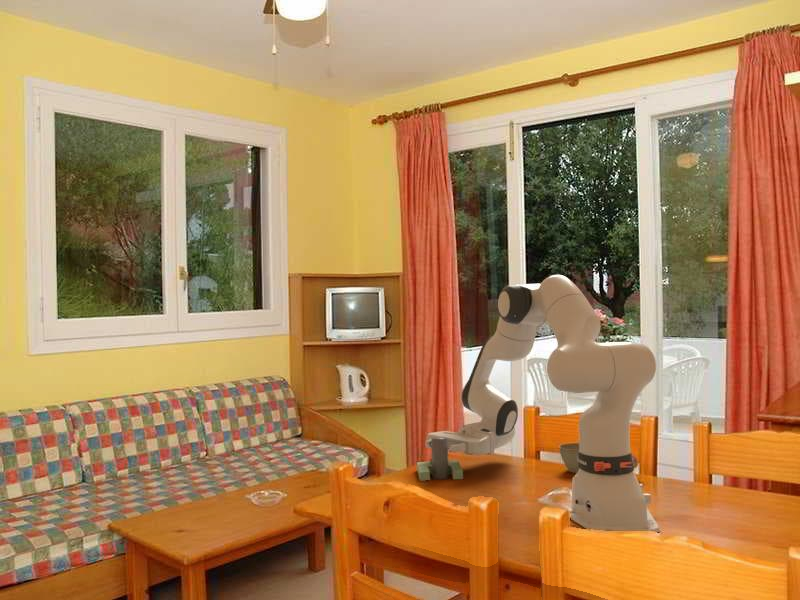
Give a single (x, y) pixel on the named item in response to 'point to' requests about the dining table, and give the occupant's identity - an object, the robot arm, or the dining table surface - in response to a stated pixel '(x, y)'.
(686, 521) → the dining table surface
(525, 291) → the robot arm
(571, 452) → the flower pot
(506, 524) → the dining table surface
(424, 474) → the green footed base
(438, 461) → the grey tall cylinder
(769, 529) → the dining table surface
